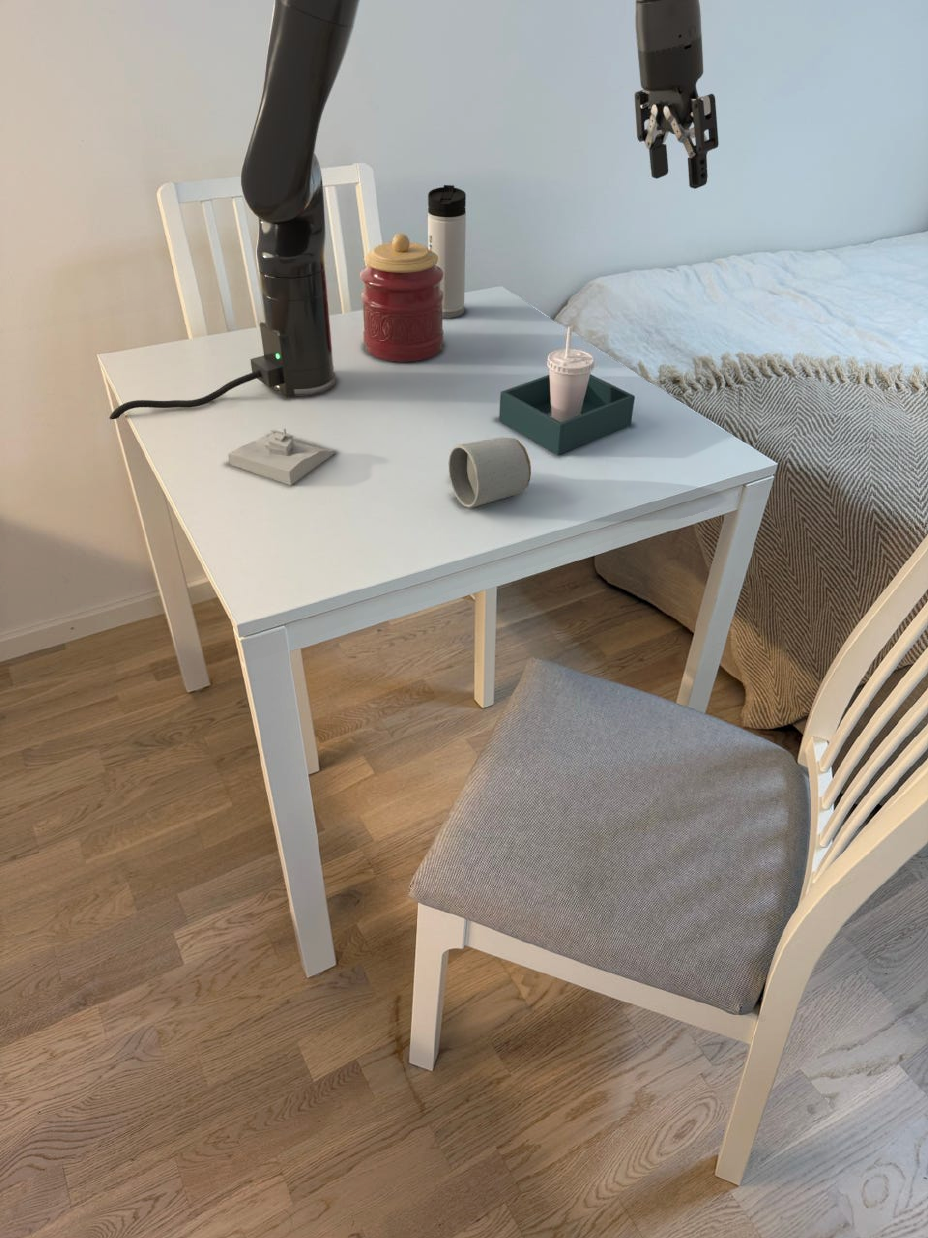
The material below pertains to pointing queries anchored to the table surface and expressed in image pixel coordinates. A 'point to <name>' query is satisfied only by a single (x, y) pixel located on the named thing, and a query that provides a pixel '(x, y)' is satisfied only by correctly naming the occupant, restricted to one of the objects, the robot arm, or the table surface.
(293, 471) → the miniature house
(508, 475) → the ceramic mug
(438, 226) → the travel mug
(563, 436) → the bin
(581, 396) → the smoothie
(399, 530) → the table surface
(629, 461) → the table surface
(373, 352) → the kitchen canister
